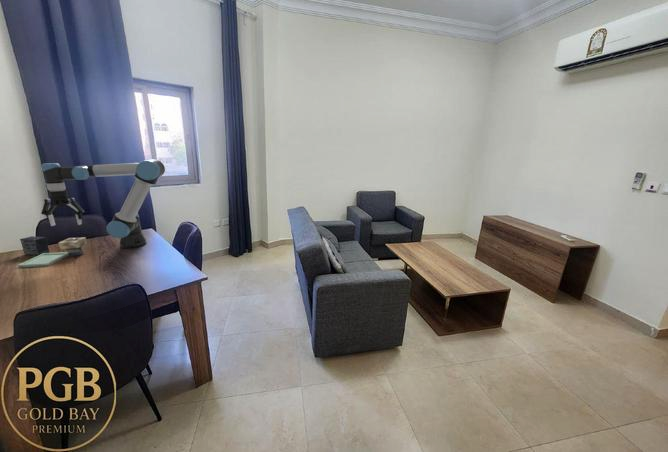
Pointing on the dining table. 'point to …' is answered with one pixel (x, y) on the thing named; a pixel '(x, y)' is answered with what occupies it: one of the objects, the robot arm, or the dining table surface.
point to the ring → (72, 243)
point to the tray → (44, 259)
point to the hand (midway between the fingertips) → (66, 225)
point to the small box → (34, 245)
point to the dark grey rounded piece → (74, 250)
